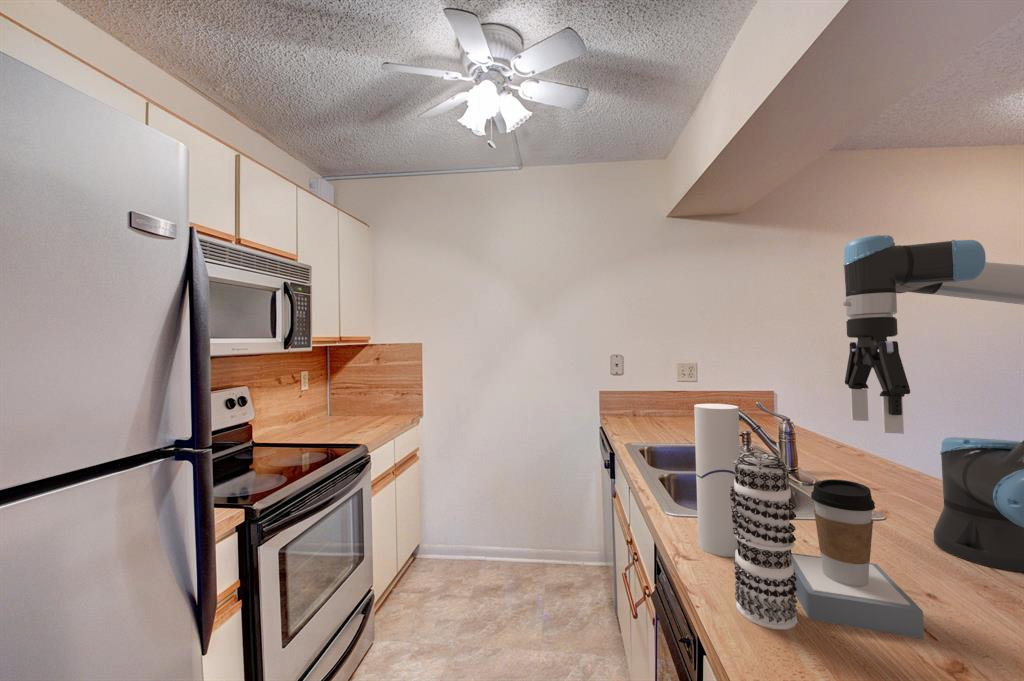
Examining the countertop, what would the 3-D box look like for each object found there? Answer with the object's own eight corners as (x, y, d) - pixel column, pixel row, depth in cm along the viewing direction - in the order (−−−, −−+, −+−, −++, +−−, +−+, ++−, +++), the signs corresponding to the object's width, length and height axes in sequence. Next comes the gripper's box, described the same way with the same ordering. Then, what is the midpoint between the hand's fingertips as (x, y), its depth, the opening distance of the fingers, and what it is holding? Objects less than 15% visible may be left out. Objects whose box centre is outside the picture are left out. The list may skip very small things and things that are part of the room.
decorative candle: (720, 606, 69) (716, 453, 69) (753, 589, 73) (749, 446, 74) (779, 639, 61) (773, 466, 61) (811, 618, 65) (806, 457, 66)
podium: (877, 586, 73) (876, 562, 74) (924, 639, 60) (922, 609, 60) (784, 573, 78) (784, 551, 78) (809, 619, 65) (808, 592, 65)
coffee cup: (888, 581, 68) (884, 488, 68) (862, 597, 64) (858, 497, 64) (829, 559, 75) (826, 475, 75) (803, 571, 71) (799, 482, 71)
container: (749, 558, 84) (744, 409, 85) (703, 555, 86) (699, 408, 86) (735, 539, 92) (731, 403, 93) (694, 536, 94) (690, 403, 95)
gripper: (824, 321, 95) (828, 415, 94) (877, 313, 71) (882, 438, 71) (865, 320, 92) (869, 416, 92) (934, 310, 69) (939, 440, 68)
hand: (875, 426), depth 81 cm, fingers open, 13 cm apart
